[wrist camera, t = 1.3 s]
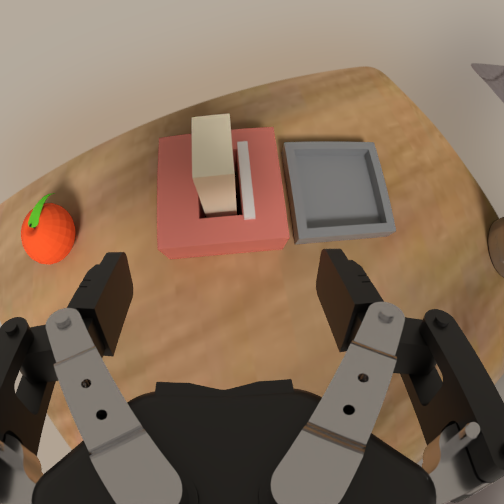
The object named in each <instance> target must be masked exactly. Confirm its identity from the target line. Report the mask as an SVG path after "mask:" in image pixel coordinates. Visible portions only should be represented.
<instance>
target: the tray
mask: <svg viewBox="0 0 504 504" xmlns="http://www.w3.org/2000/svg"><path fill="white" fill-rule="evenodd" d="M282 158H283V165H284V171H285V177H286V184H287V191H288V197H289V204H290V211H291V219H292V226H293V233H294V241H295V244H305V243H317V242H328V241H340V240H352V239H363V238H375V237H387V236H389V235H390V234H392V233H394V232H395V231H396V228H395V223H394V218H393V214H392V209H391V205H390V200H389V196H388V192H387V188H386V184H385V180H384V176H383V172H382V169H381V165H380V162H379V158H378V155H377V151H376V148H375V145H374V143H373V142H284V145H283V149H282Z"/></svg>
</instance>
